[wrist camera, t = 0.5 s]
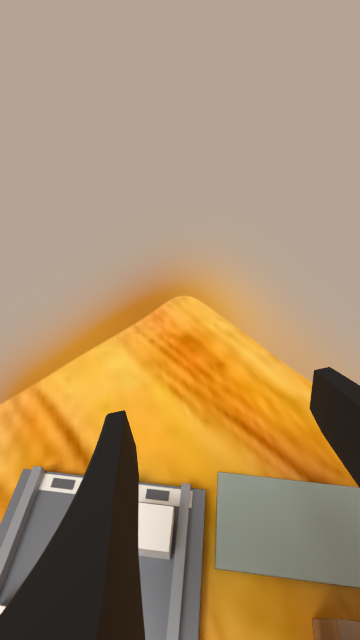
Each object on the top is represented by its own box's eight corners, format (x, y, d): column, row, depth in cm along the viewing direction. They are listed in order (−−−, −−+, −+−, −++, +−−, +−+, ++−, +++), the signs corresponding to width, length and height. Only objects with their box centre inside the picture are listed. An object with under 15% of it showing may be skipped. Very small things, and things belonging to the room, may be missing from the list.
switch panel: (189, 783, 17) (190, 802, 15) (-74, 734, 18) (-103, 746, 17) (204, 495, 27) (206, 485, 25) (29, 474, 28) (19, 464, 26)
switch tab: (170, 560, 23) (168, 552, 20) (127, 554, 23) (120, 545, 20) (174, 518, 24) (173, 506, 22) (134, 513, 24) (129, 501, 22)
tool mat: (403, 594, 22) (408, 593, 22) (214, 569, 23) (215, 567, 23) (375, 491, 27) (379, 489, 26) (217, 474, 28) (218, 471, 27)
